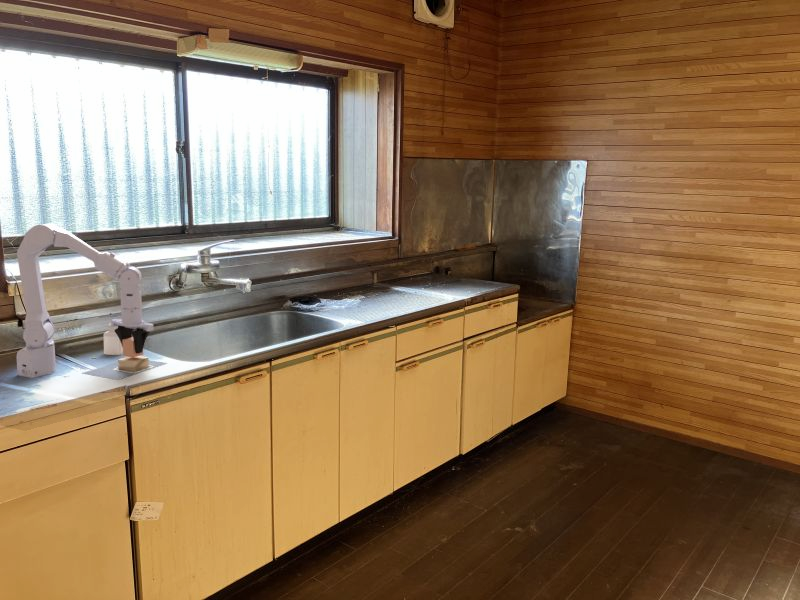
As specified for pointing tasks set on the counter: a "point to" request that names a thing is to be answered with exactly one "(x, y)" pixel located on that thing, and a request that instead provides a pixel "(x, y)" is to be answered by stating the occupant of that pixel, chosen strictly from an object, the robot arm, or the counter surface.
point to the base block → (133, 363)
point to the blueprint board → (119, 371)
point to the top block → (130, 348)
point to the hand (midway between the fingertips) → (133, 351)
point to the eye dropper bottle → (112, 342)
